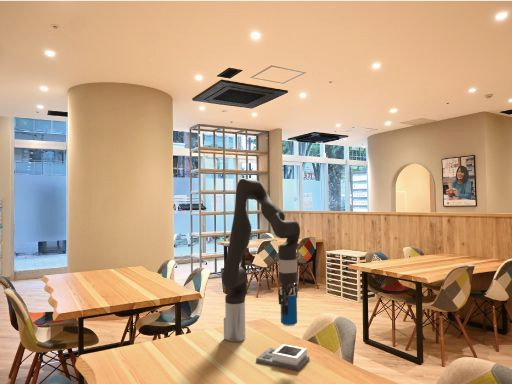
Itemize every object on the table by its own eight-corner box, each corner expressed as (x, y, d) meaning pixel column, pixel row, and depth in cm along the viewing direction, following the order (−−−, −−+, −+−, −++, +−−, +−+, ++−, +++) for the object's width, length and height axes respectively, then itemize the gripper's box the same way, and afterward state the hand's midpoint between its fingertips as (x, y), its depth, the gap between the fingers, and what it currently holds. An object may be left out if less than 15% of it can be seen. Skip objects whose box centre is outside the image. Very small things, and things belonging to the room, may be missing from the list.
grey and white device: (256, 362, 149) (256, 350, 149) (269, 351, 160) (269, 340, 160) (298, 371, 141) (297, 359, 141) (309, 359, 151) (309, 348, 151)
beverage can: (278, 322, 151) (277, 292, 151) (292, 320, 153) (292, 291, 154) (285, 327, 145) (284, 296, 145) (300, 325, 147) (299, 294, 148)
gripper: (286, 266, 158) (287, 306, 157) (271, 272, 145) (272, 316, 145) (303, 268, 154) (304, 308, 154) (289, 274, 142) (289, 318, 141)
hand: (288, 312), depth 149 cm, fingers closed on beverage can, 6 cm apart
